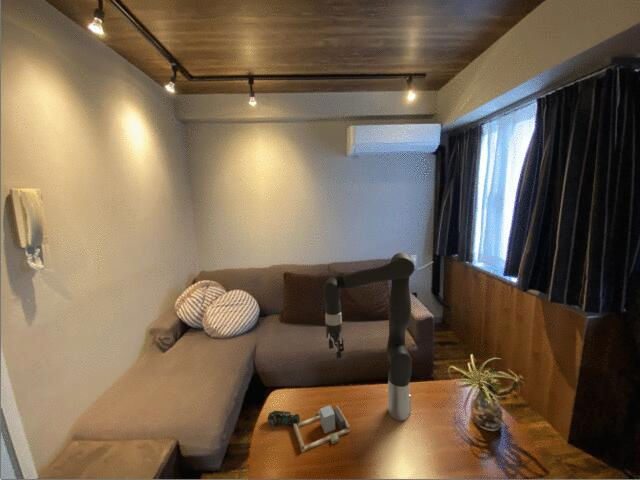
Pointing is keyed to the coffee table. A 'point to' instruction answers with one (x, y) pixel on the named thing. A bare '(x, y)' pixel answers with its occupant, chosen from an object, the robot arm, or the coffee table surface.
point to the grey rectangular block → (327, 419)
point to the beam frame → (333, 437)
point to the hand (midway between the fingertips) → (335, 352)
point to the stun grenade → (282, 418)
